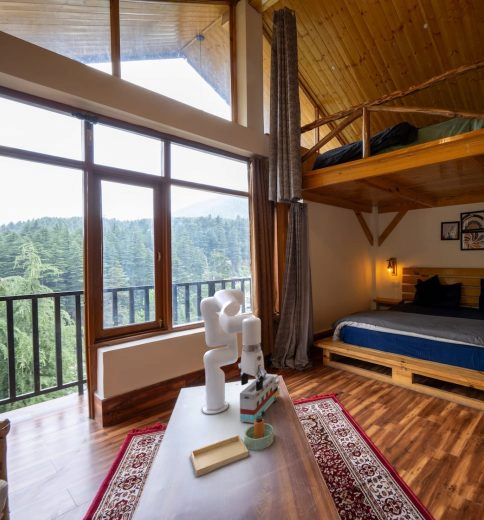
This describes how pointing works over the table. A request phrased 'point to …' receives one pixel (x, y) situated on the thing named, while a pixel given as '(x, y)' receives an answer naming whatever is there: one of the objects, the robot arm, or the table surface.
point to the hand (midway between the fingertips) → (251, 386)
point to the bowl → (259, 443)
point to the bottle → (259, 428)
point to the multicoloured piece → (258, 398)
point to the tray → (218, 455)
